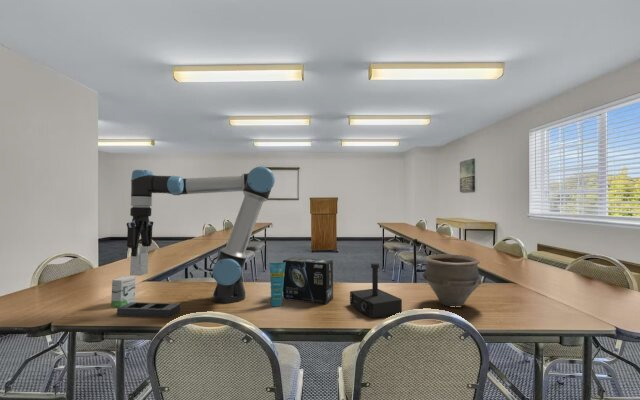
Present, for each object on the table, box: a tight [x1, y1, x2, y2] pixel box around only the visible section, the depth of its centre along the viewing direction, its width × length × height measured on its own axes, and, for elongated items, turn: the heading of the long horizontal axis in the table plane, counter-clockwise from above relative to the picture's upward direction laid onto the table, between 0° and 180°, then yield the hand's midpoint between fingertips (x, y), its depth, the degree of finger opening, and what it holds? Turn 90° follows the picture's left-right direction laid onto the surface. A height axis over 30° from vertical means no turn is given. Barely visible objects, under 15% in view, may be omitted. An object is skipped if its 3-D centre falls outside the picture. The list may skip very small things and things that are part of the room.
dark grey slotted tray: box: [116, 301, 182, 319], centre depth 121 cm, size 22×8×3 cm, turn 86°
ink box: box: [110, 275, 137, 308], centre depth 133 cm, size 9×5×12 cm, turn 171°
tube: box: [268, 261, 286, 307], centre depth 133 cm, size 7×5×19 cm, turn 103°
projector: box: [349, 262, 403, 319], centre depth 128 cm, size 19×17×20 cm
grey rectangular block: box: [129, 251, 149, 277], centre depth 122 cm, size 4×4×9 cm
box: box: [282, 257, 334, 305], centre depth 143 cm, size 23×10×19 cm, turn 67°
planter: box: [422, 253, 483, 307], centre depth 135 cm, size 25×24×22 cm
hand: (139, 262), depth 122 cm, fingers closed on grey rectangular block, 4 cm apart
